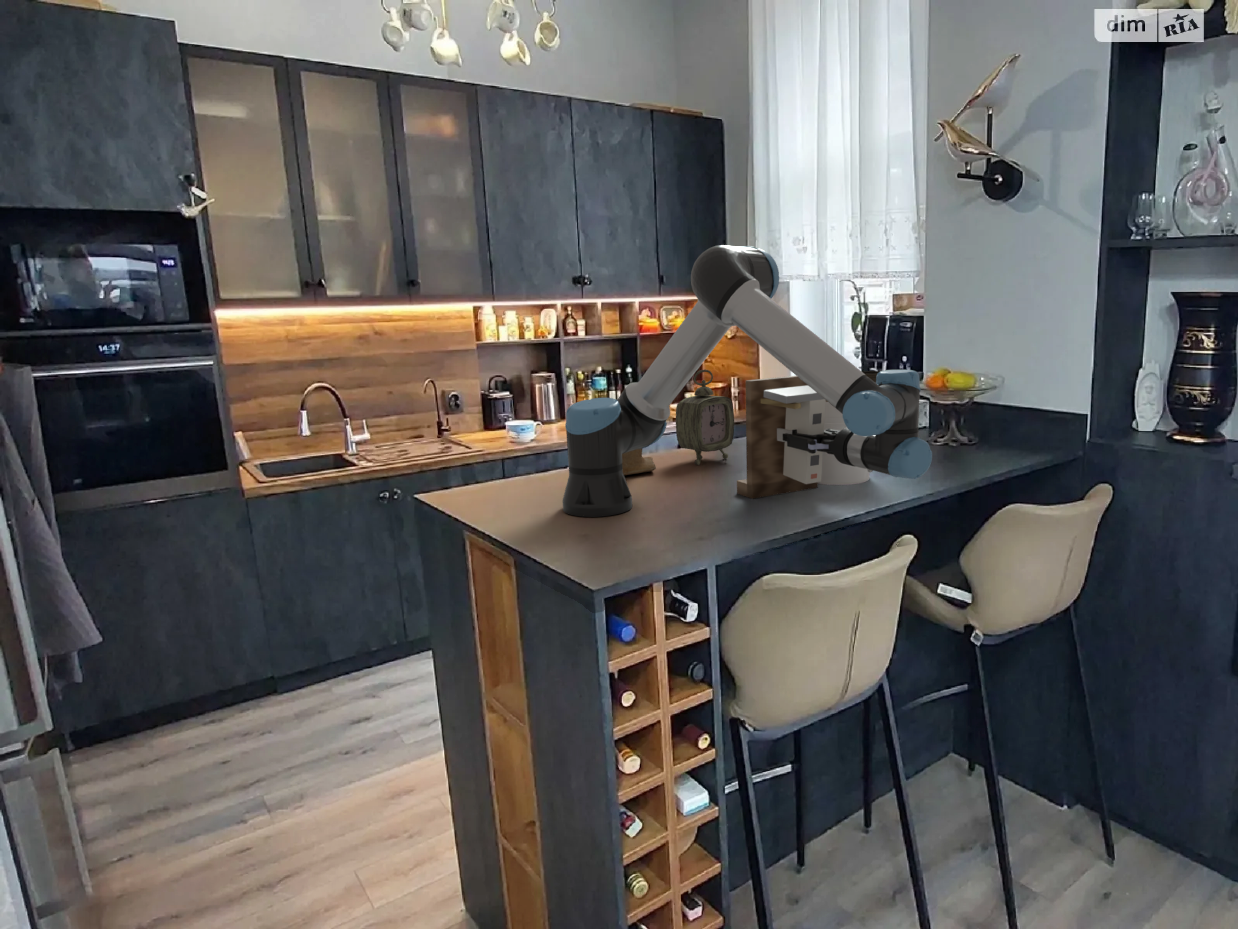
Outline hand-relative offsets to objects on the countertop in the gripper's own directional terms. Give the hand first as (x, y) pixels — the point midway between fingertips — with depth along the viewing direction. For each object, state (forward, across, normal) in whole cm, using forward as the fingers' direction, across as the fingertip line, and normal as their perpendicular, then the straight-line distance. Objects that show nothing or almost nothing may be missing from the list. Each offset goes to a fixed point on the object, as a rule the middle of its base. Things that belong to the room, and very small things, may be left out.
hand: (787, 433), depth 177 cm
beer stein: (+48, +64, -14) cm, 81 cm away
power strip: (-5, 0, -9) cm, 11 cm away
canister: (+7, +19, -14) cm, 25 cm away
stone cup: (+40, -20, -14) cm, 47 cm away
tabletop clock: (+43, +4, -14) cm, 45 cm away
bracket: (-2, 0, -14) cm, 14 cm away
